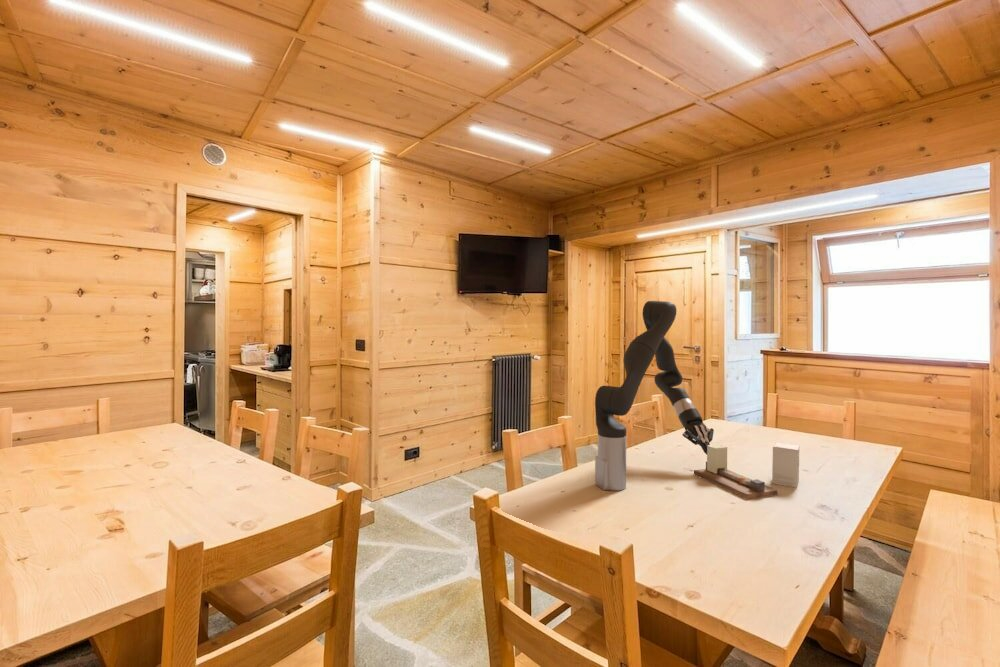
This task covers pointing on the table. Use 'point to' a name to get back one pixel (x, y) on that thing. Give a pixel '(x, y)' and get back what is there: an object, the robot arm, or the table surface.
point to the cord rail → (737, 483)
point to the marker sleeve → (716, 458)
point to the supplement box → (785, 464)
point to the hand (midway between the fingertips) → (709, 453)
